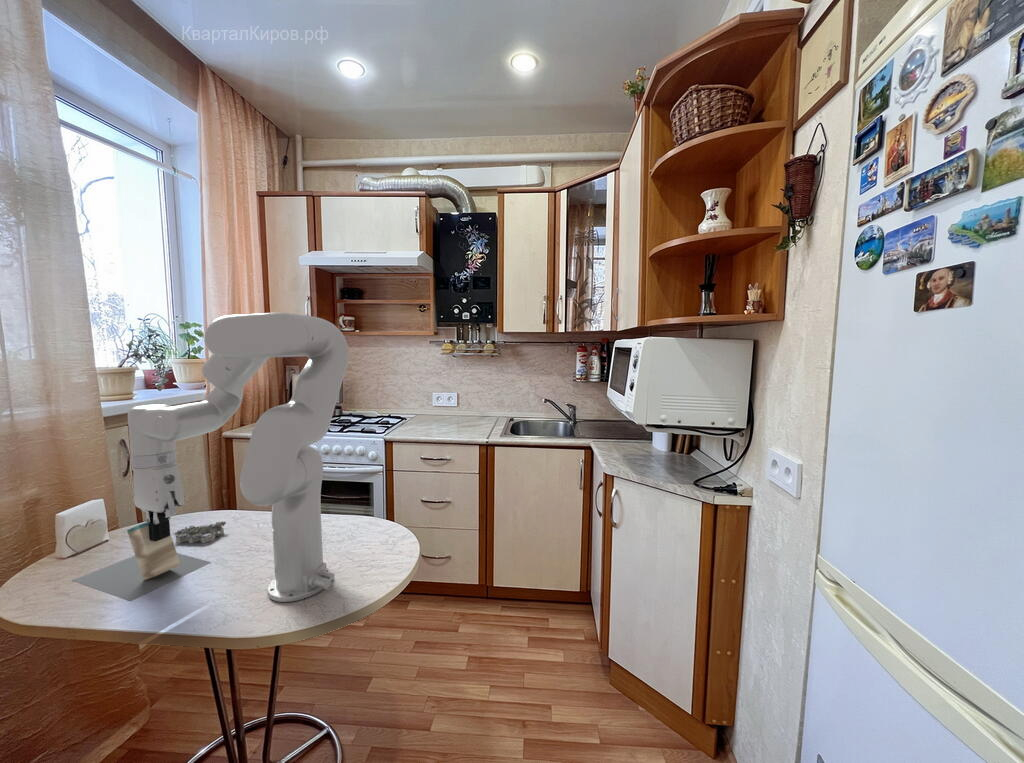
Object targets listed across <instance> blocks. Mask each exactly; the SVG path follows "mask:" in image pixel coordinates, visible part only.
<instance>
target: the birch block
mask: <svg viewBox="0 0 1024 763" xmlns="http://www.w3.org/2000/svg"><path fill="white" fill-rule="evenodd" d="M148 524H149V523H148V522H147V521H146V522H144V523H140V524H137V525H135V526H133V527H132V528H129V529H127V530H126V531H127V535H128V538H129V541H130V544H131V546H132V550H133V553H134V556H136V559H137V563H138V566H139V569H140V572H141V575H142V578H143V580H146V579H149V578H152V577H155V576H157V575H159V574H161V573H164V572H166V571H168V570H170V569H172V568H175V567H177V566H179V565H181V564H180V561H179V558H178V555H177V553H178V552H177V550H176V547H175V543H174V540H173V537H172V534H171V533H170V536H169V537H166V538H164V539H161V540H158V541H156V542H155V541H151V540H150V539H149V526H148Z"/></svg>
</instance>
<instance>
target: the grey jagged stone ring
mask: <svg viewBox="0 0 1024 763" xmlns="http://www.w3.org/2000/svg"><path fill="white" fill-rule="evenodd" d="M226 524H227V522H226V521H217V522H215V523H214V524H213V523H210V524H209V525H208V524H204V525H203V524H202V525H199V526H195V525H189V527H187V526H185V527H184V528H181V529H179V530H177V531H176V532H171V533H172V534H173V535H174V536H175V541H176V544H181V543H184V542H188V543H189V544H194V543H197V542H201V543H202V544H206V543H208V542H214V541H215V540H216V537H219V536H223V535H224V534H225V531H224V527H225V525H226ZM207 533H208V534H207ZM172 534H171V535H172ZM201 534H206V535H201Z"/></svg>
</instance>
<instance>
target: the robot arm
mask: <svg viewBox="0 0 1024 763" xmlns="http://www.w3.org/2000/svg"><path fill="white" fill-rule="evenodd" d="M204 332H205V333H204V343H205V346H206V349H207V350H208V351H209V352H211V355H210V357H208V358H207V360H206V361H205V362H204V363H203V364H202V367H201V374H202V375H203V377H204V379H205V380H206V381H207V382H208V383H209V384H211V385H212V386H213V387H214V388H213V389H212V390H211V391H210V393H209V394H208V395H207V396H206V397H205V398H204V399H203V400H201V401H198V402H192V403H184V404H178V405H173V406H172V405H168V404H159V403H158V404H144V405H137V406H134V407H130V408H129V410H128V412H127V423H128V424H127V425H128V426H127V427H128V436H129V437H128V438H129V451H130V462H131V463H130V464H131V465H130V466H131V470H132V471H133V472H132V474H133V476H132V477H133V478H132V493H133V494H132V495H133V503H134V506H135V507H136V508H138V509H140V510H141V512H143V513H144V514H145V519H146V522H148V523H149V524H148V526H149V539H150V540H151V541H155V542H156V541H158V540H161V539H164V538H166V537H169V536H170V534H171V526H170V520H171V518H172V517H174V516H176V515H177V511H176V507H177V508H178V507H182V506H183V505H184V503H185V501H184V500H185V499H184V490H183V483H182V477H181V474H180V469H179V467H178V465H177V462H178V461H177V449H176V448H177V446H176V442H177V441H178V442H179V441H181V440H186V439H189V438H192V437H197V436H202V435H205V434H209V433H213V432H215V431H217V430H218V429H220V428H222V426H224V425H225V424H226V423H227V422H228V421H229V420H230V419H231V418H232V416H234V415H235V413H236V412H237V411H238V410H239V408H240V406H241V405H242V402H243V398H244V387H245V386H246V385H247V383H248V382H249V381H250V380H251V379H252V378H253V377H254V376H255V375H256V373H257V372H258V371H259V370H260V369H261V368H262V366H264V364H266V362H267V361H268V360H270V358H292V357H293V358H294V357H297V358H298V357H307V358H308V359H307V362H306V364H305V365H304V367H303V368H302V370H301V371H300V373H299V375H298V377H297V379H296V382H295V387H294V390H293V393H292V396H291V398H290V400H289V402H287V403H285V404H280V405H275V406H274V407H271V408H269V409H267V410H266V411H265V412H263V413H262V414H260V416H259V418H258V419H257V420H256V422H255V425H254V427H253V428H252V432H251V434H250V439H249V441H248V446H247V449H246V453H245V455H244V460H243V464H242V467H241V470H240V471H241V472H240V475H239V476H240V478H239V486H240V490H241V493H242V496H243V497H244V499H245V500H247V502H248V503H250V504H252V505H254V506H259V507H267V506H272V507H271V526H272V527H271V530H272V531H271V532H272V544H273V545H272V546H273V564H274V565H273V566H274V578H273V579H272V580H271V581H270V582H269V584H268V586H267V589H266V590H267V596H268V598H269V599H270V600H273V601H274V602H279V603H282V602H284V603H287V602H288V603H290V602H296V601H301V600H304V598H305V599H307V598H309V597H312V596H314V595H316V594H317V593H319V592H321V591H323V590H327V589H329V588H330V586H331V585H332V584H331V583H332V581H333V580H334V578H335V575H336V574H335V573H333V572H332V571H331V570H330V569H329V568H328V566H327V563H326V562H324V551H323V533H322V532H323V531H322V507H321V505H322V504H321V503H322V502H321V501H322V500H321V499H322V498H321V496H322V495H321V494H322V484H323V476H324V475H323V474H324V461H323V458H322V456H321V454H320V453H319V451H318V450H317V449H316V448H314V447H313V446H310V445H312V444H315V443H317V442H319V441H321V440H322V439H323V438H324V437H325V436H326V435H327V433H328V432H329V428H330V426H331V421H332V419H333V415H334V411H335V408H336V406H337V405H336V404H337V401H338V398H339V394H340V390H341V386H342V384H343V381H344V378H345V376H346V375H345V374H346V372H347V368H348V364H349V361H350V360H349V359H350V351H349V345H348V342H347V340H346V337H345V335H344V334H343V332H342V331H341V330H340V329H339V327H337V326H336V325H335V324H334V323H333V322H330V321H329V320H326V319H324V318H322V317H316V316H312V315H304V314H295V313H288V312H264V313H250V314H249V313H248V314H247V313H246V314H230V315H229V314H227V315H222V316H220V317H218V318H217V317H216V318H215V319H213V320H212V321H211V322H210V324H208V326H207V327H206V330H205V331H204Z"/></svg>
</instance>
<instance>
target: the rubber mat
mask: <svg viewBox="0 0 1024 763" xmlns="http://www.w3.org/2000/svg"><path fill="white" fill-rule="evenodd" d="M177 555H178V558H179V561H180V564H181V565H179V566H177V567H175V568H172V569H170V570H168V571H166V572H164V573H161V574H159V575H157V576H155V577H152V578H149V579H146V580H143V578H142V575H141V572H140V569H139V566H138V563H137V559H136V556H135V555H132V556H130V557H128V558H125V559H122V560H120V561H117V562H115V563H113V564H110V565H107V566H105V567H102V568H100V569H97V570H95V571H92V572H89V573H87V574H85V575H82V576H79V577H77V578H75V579H72V580H71V581H72V582H75V583H78V584H81V585H83V586H86V587H90V588H92V589H93V590H98V591H100V592H104V593H106V594H109V595H112V596H114V597H117V598H120V599H122V600H126V601H128V602H132V601H134V600H136V599H138V598H140V597H142V596H144V595H147V594H149V593H150V592H153V591H154V590H155V591H156V590H158V589H159V588H162V587H163V586H166V585H167V584H169V583H171V582H173V581H175V580H179V579H180V578H182V577H184V576H186V575H189V574H190V573H193V572H195V571H196V570H199V569H201V568H203V567H205V566H207V565H209V564H211V563H212V561H208V560H204V559H201V558H197V557H193V556H191V555H185V554H182V553H178V552H177Z"/></svg>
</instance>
